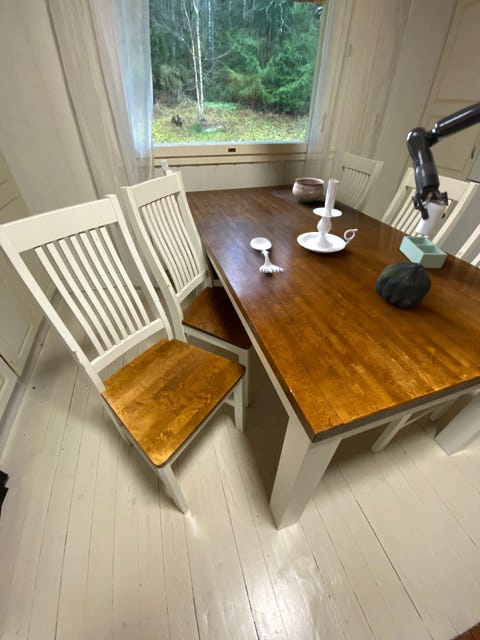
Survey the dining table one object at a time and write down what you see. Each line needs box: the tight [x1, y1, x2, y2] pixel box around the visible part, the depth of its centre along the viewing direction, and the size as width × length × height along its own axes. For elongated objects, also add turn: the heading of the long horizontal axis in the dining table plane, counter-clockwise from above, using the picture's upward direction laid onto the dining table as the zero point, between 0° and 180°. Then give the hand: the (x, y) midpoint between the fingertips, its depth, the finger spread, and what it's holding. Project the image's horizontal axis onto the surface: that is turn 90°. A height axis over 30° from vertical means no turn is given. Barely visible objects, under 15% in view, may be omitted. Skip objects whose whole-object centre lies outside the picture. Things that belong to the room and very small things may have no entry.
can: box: [415, 200, 447, 237], centre depth 107 cm, size 6×6×12 cm
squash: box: [375, 261, 432, 309], centre depth 86 cm, size 14×15×15 cm
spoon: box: [250, 237, 284, 274], centre depth 111 cm, size 9×32×4 cm, turn 5°
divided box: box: [399, 235, 448, 269], centre depth 112 cm, size 9×17×6 cm, turn 177°
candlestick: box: [296, 178, 358, 254], centre depth 112 cm, size 21×25×28 cm
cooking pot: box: [292, 177, 325, 204], centre depth 172 cm, size 25×19×12 cm
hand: (433, 218), depth 106 cm, fingers closed on can, 6 cm apart
